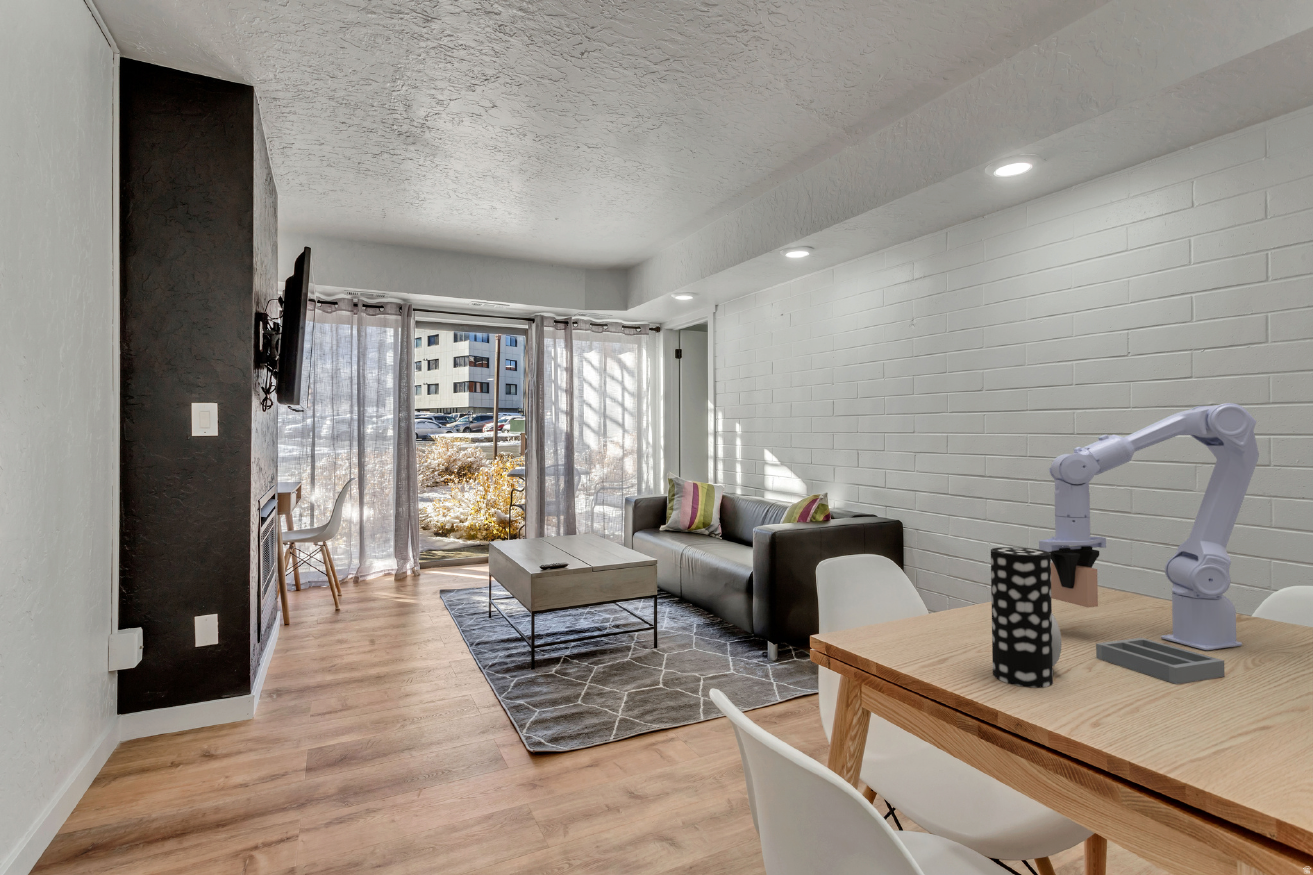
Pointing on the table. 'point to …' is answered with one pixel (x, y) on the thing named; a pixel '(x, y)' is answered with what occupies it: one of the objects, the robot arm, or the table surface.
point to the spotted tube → (1021, 616)
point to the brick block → (1077, 587)
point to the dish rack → (1160, 660)
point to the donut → (1055, 640)
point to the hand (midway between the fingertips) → (1073, 586)
